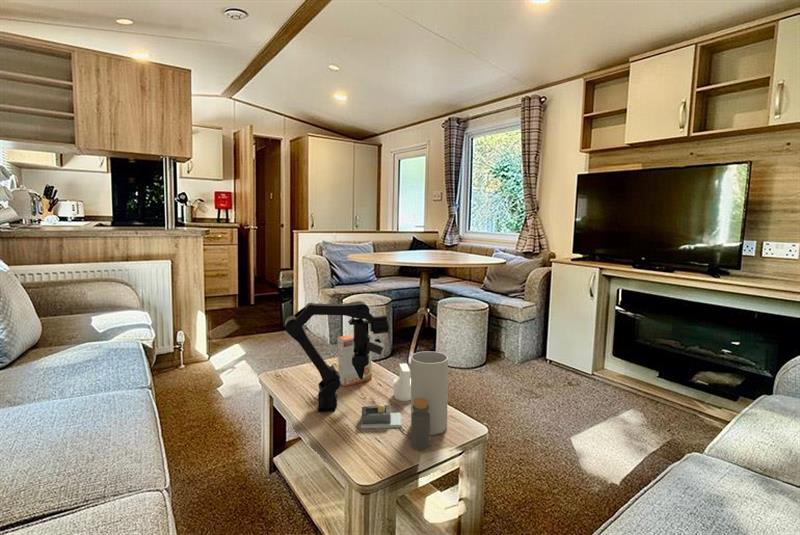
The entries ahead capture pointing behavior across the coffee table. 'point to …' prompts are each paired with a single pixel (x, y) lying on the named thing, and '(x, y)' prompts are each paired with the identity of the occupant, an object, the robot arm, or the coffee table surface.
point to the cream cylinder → (403, 383)
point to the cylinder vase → (431, 386)
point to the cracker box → (350, 362)
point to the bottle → (420, 424)
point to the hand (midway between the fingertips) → (361, 374)
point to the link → (375, 415)
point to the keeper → (394, 423)
